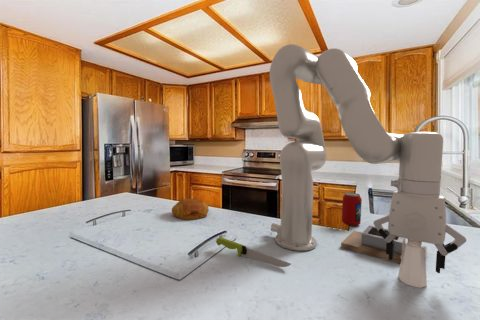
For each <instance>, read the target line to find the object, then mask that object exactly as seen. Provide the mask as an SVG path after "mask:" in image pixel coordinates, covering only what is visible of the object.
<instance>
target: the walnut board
mask: <svg viewBox="0 0 480 320" xmlns="http://www.w3.org/2000/svg"><path fill="white" fill-rule="evenodd" d="M362 233H363V232H362V231H357V230H353V231H352V232H351V233H350V234H349V235H347V237H346V238H345V239H343V240H342V241H341V243H340V244H341V245H340V248H342V249H345V250H348V251H351V252H352V251H353V252H357V253H360V254H363V255H367V256H371V257H375V258H377V259H381V260H386V261H389V262H392V263H397V264H399V265H400V264H401V258H402V255H397V254H394V257H393V260H389V255H388V254H386V251H382V250H378V249H374V248H370V247H366V246H362V245H361V240H362ZM406 242H407V241H405V243H406ZM423 247H424V249H425V261H426V258H427V247H428V246H424V245H423ZM402 253H403V252H402Z"/></svg>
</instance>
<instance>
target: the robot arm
mask: <svg viewBox="0 0 480 320" xmlns="http://www.w3.org/2000/svg"><path fill="white" fill-rule="evenodd" d="M358 70H359V69H358V64H357V62H356V61H355V60H354V59H353V58H352V57H351V56H350V55H348V54H347V53H346V52H345V51H344V50H342V49H340V48H329V49H326V50H324V51H323V52H322V53H320V55H316V54H314V53H313V52H311V51H310V50H308V49H306V48H305V47H303V46H301V45H298V44H291V43H290V44H285V45H284V46H283V45H282V47H281V48H279V49H278V51H277V52H276V53H275V54H274V57H273V59H272V60H271V64H270V68H269V82H270V87H271V91H272V96H273V101H274V107H275V113H276V118H277V123H278V124H277V125H278V129H279V130H278V131H280V133H281V135H283V137H285V138H289V139H295V140H296V141H292V142H290V143H287V144H286V145H285V146H284V147H283V148H282V149H281V151H280V154H279V167H280V174H281V201H280V202H281V204H280V205H281V207H280V208H281V209H280V224H278V223H274V222H273V223H271V225H270V231H272V232H276V233H277V234H276V235H275V239H274V240H275V243H276V244H277V245H278V246H280V247H282V248H284V249H286V250H292V251H298V252H299V251H301V252H302V251H311V250H313V249H315V248H316V247H317V245H318V244H317V240H316V238H314V237H313V236H312V235H313V233H312V232H313V211H314V210H313V209H314V208H313V207H314V180H313V176H312V172H314V171H317V170H320V169H321V168H322V167H323V166H324V165H325V164H326V161H327V149H326V143H325V139H324V138H325V137H324V133H323V128H322V123H321V121H320V119H319V117H318V116H317V115H316V114H315V113H314V112H312V111H310V110H306V108H305V106H304V102H303V96H302V92H301V89H300V86H299V85H298V82H297V80H299V81H302V82H306V83H308V84H309V83H310V84H314V85H315V84H316V85H321V86H322V85H323V86H324V89H326V91H327V94H328V95H329V96H330V98H331V101H332V102H333V104H334V106H335V107H336V110H337V114H338V117H339V121H340V123H341V127H342V130H343V131H344V134H345V136H346V138H347V139H348V141H349V142H350V145H351V146H352V147H353V149H354V151H355V153H356V154H357V155H358V157H360V159H361V160H362V161H364V162H366V163H367V164H370V165H371V164H372V165H378V164H388V163H399V165H398V166H399V167H398V179H395V180H390V186H391V187H394V188H396V189H397V190H395V191H393V193H392V196H391V200H390V201H391V202H390V207H389V214H388V215H385V216H383V217H380V218H377V219H375V220H374V221H373V222H372V223H373V225H374V227H376V228H377V230H378V232H379V233H380V235H381V236H382V237H383V238H384V239H385V241H386V242H387V243H386V254H388V255H389V260H393V257H394V246H395V241H394V238H395V237H396V236H398V237H402V238H406V240H408V239H411V240H416V241H420V242H422V243H425V244H430V245H434V246H435V248H436V249H437V250H436V256H435V272H436V273H437V274H441V270H445V269H446V267H445V266H446V256H448V255H449V254H451V253H453V252H455V251H456V250H458V248H460V247H462V245H464V244H465V243H466V242H467V238H466V237H465V235H462V234H461V233H460V232H459V231H457V230H456V229H454V228H453V227H451V226H450V225H448V224H447V211H446V201H445V197H444V196H442V195H440V193H441V179H442V167H443V165H442V164H443V152H444V150H443V149H444V137H443V135H442V134H441V133H439V132H433V131H418V132H417V131H412V132H407V133H404V134H399V133H392V132H391V133H390V132H387V131H386V129H385V128H384V126H383V125H382V123H381V122H380V119H379V118H378V117H377V114H376V113H375V111H374V110H373V107H372V104H371V91H370V89H369V87H368V86H367V84H366V83H365V81H364V79H362V77H361V75H360V74H359V72H358ZM386 223H387V227H388V228H387V229H388V231H389V233H388V232H387V231H386V230H385V229H386V228H384V226H383V225H384V224H386ZM446 234H448V235H449V236H450V237H452V238H453V240H452V241H451V242H449V243H447V244H444V243H445V240H446Z"/></svg>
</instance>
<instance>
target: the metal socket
mask: <svg viewBox="0 0 480 320" xmlns="http://www.w3.org/2000/svg"><path fill="white" fill-rule="evenodd" d="M384 229H385V230H386V231H387V232H388V233H389V231H388V228H384ZM406 240H407V239H406V238H402V237H398V236H396V237H395V238H394V241H395V246H394V254H397V255H402V252H403V248H404V244H405V242H406ZM386 243H387V242H386V241H385V239H384V238H383V237H382V236H381V235H380V233H379V232H378V230H377V228H376V227H375V225H374V226H373V225H368V226H367V227H366V229H364V231H363V232H362V240H361V245H362V246H366V247H370V248H374V249H378V250H382V251H386Z"/></svg>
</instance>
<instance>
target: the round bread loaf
mask: <svg viewBox="0 0 480 320" xmlns="http://www.w3.org/2000/svg"><path fill="white" fill-rule="evenodd" d="M171 212H172V215H173V216H174V217H175V218H177V219H180V220H182V221H183V220H186V221H189V220H199V219H202V218H206V217H207V216H208V212H209V205H208V204H207V203H206V202H204V201H203V200H201V199H199V198H187V199H180V200H179V201H178V202H177V203H176V204H174V205H173V206H172V207H171Z"/></svg>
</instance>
